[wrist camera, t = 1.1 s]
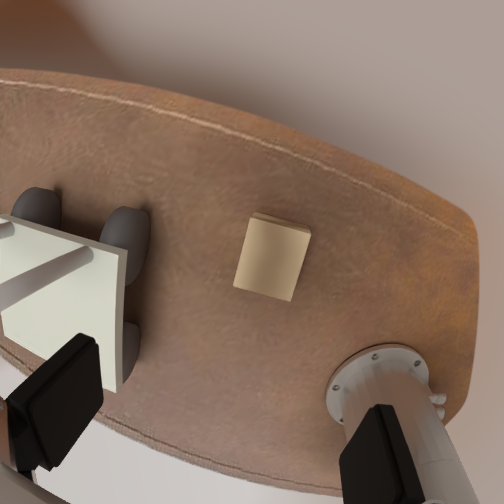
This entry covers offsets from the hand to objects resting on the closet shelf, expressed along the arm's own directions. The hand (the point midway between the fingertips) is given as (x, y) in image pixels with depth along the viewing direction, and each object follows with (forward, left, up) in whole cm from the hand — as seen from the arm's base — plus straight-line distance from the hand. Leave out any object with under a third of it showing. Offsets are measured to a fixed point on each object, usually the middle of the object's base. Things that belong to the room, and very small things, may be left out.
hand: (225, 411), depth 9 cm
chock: (-1, 0, -21) cm, 21 cm away
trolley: (+18, +8, -21) cm, 29 cm away
